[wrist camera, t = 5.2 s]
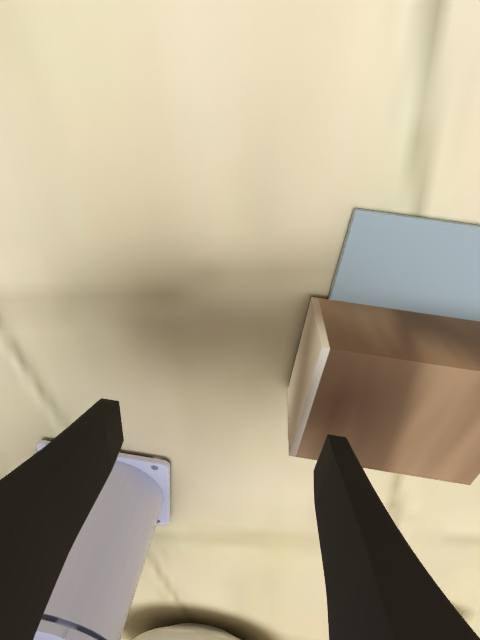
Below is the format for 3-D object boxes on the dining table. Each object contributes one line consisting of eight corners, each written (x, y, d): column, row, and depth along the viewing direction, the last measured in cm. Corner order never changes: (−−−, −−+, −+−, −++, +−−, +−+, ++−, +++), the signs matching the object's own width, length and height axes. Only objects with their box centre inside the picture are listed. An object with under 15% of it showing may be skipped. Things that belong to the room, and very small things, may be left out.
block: (288, 455, 14) (469, 485, 14) (321, 347, 11) (554, 382, 11) (286, 393, 18) (432, 415, 17) (311, 296, 15) (488, 322, 14)
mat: (288, 437, 20) (288, 442, 20) (353, 207, 13) (356, 209, 13) (448, 463, 20) (452, 469, 19) (607, 242, 13) (617, 245, 12)
